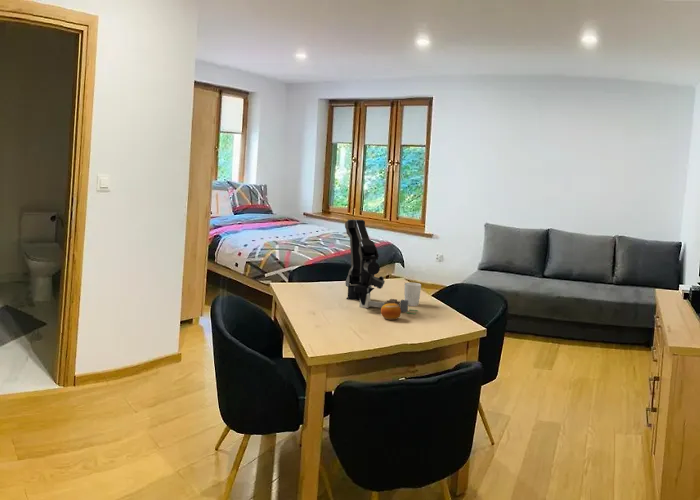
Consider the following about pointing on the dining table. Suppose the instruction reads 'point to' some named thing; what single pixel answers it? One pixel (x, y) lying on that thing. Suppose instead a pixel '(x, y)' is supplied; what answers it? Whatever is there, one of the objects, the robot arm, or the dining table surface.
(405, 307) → the telltale
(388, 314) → the fruit
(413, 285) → the white cup
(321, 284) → the dining table surface
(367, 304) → the grey bar
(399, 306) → the housing
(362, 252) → the robot arm
